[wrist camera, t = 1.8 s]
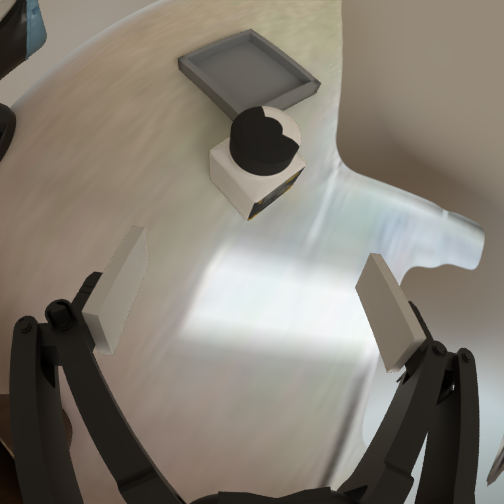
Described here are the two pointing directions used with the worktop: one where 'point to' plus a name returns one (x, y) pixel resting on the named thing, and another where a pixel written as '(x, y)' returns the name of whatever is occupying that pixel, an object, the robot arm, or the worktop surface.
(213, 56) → the tray
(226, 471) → the worktop surface
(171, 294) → the worktop surface
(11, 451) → the plant pot
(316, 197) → the worktop surface
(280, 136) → the medicine bottle
